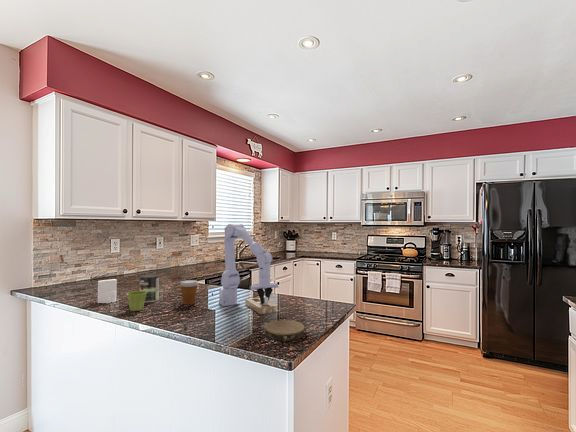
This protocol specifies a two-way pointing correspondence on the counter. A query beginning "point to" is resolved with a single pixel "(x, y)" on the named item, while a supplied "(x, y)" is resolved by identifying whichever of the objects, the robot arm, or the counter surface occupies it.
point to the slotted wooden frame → (260, 306)
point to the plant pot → (136, 300)
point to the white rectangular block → (107, 291)
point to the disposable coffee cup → (189, 291)
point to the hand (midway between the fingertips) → (264, 303)
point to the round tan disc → (284, 330)
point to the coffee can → (150, 286)
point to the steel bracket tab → (265, 301)
